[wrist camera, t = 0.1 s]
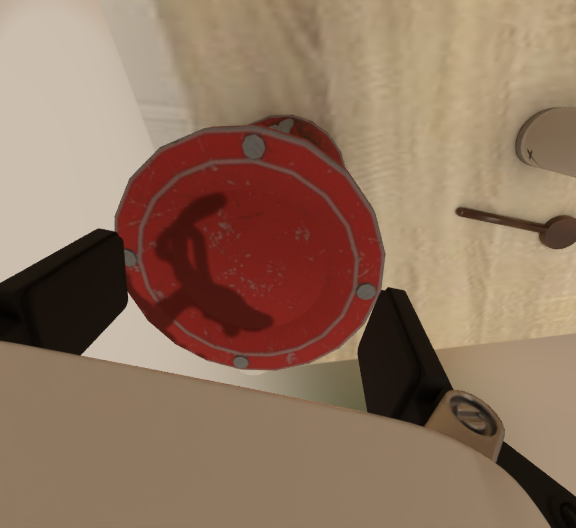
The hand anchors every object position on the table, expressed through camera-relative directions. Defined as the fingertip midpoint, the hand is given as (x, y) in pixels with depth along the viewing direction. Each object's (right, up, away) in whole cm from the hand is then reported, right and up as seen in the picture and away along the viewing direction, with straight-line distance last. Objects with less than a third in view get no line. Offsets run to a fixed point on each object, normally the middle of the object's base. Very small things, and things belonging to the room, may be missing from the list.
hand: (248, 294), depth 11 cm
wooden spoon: (+31, +7, +29) cm, 43 cm away
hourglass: (+1, +12, +29) cm, 32 cm away
